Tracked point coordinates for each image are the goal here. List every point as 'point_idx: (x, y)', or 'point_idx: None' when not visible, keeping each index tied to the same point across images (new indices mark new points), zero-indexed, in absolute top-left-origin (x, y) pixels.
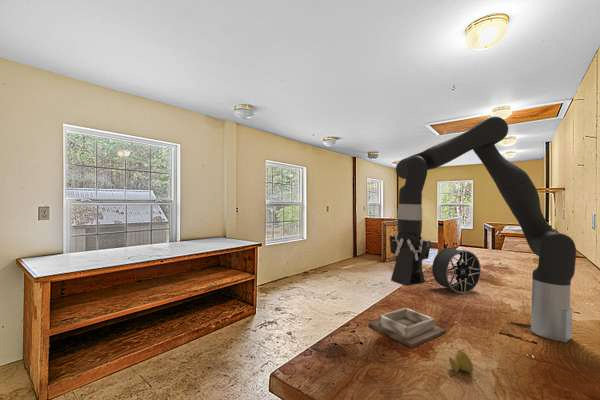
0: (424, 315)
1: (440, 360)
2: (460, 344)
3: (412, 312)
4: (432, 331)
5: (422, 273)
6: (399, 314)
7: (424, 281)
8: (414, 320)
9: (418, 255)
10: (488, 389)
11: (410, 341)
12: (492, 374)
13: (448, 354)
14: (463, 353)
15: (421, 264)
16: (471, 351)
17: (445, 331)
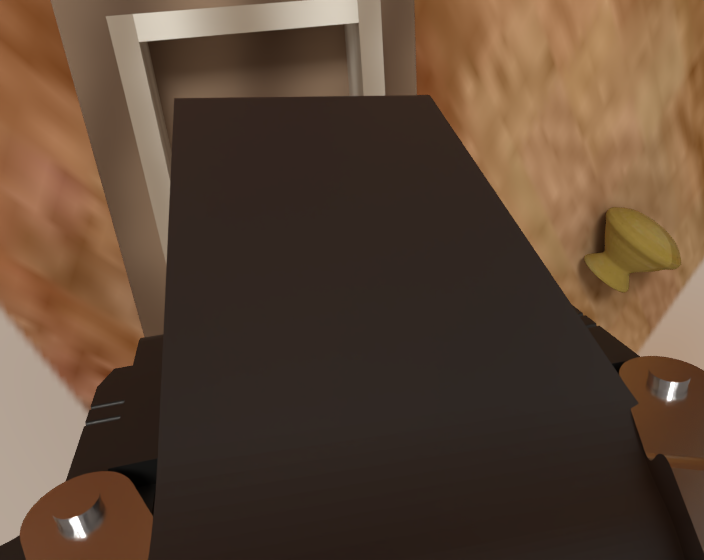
0: (304, 16)
1: (533, 248)
2: (521, 14)
3: (202, 35)
4: (386, 63)
5: (471, 171)
6: (161, 129)
7: (429, 102)
8: (224, 35)
9: (650, 448)
10: (693, 245)
11: None
12: (686, 144)
13: (531, 174)
14: (669, 268)
15: (611, 347)
16: (581, 35)
17: None
